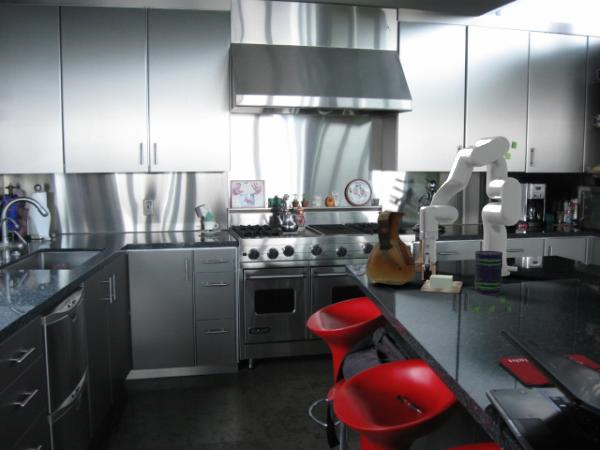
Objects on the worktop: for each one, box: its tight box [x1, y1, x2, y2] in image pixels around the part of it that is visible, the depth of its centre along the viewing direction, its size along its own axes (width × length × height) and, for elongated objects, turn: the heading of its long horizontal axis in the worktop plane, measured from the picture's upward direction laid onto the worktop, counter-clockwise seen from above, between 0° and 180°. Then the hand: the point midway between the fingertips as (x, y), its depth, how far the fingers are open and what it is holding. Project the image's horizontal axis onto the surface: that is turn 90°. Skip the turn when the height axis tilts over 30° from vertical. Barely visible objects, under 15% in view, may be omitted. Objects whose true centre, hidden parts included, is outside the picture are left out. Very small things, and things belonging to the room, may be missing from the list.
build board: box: [420, 280, 463, 294], centre depth 211 cm, size 14×18×1 cm
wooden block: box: [414, 238, 424, 273], centre depth 249 cm, size 9×4×18 cm, turn 131°
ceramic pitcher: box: [365, 210, 416, 286], centre depth 218 cm, size 20×20×30 cm
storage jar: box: [473, 250, 503, 296], centre depth 201 cm, size 10×10×15 cm
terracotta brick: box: [421, 264, 436, 281], centre depth 228 cm, size 5×5×6 cm
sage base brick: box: [430, 274, 454, 289], centre depth 208 cm, size 8×6×4 cm
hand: (428, 278), depth 228 cm, fingers closed on terracotta brick, 5 cm apart
